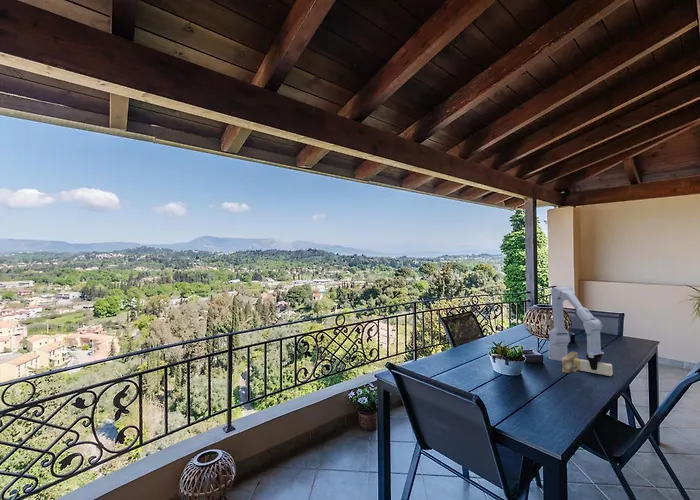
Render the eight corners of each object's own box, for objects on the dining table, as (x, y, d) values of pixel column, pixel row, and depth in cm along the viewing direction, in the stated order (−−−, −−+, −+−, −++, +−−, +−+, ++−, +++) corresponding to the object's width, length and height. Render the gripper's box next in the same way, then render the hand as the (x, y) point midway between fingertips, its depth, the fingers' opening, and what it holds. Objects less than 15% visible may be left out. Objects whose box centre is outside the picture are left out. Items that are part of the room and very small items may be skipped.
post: (562, 371, 173) (561, 358, 173) (571, 363, 185) (571, 351, 185) (573, 374, 169) (572, 360, 169) (582, 365, 181) (581, 353, 181)
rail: (573, 369, 175) (573, 359, 175) (575, 367, 178) (575, 358, 178) (611, 376, 163) (610, 366, 163) (612, 374, 166) (612, 364, 166)
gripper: (600, 346, 162) (601, 374, 162) (606, 341, 172) (607, 366, 172) (583, 344, 167) (584, 370, 167) (590, 338, 177) (591, 363, 177)
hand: (594, 368), depth 170 cm, fingers closed on rail, 4 cm apart
